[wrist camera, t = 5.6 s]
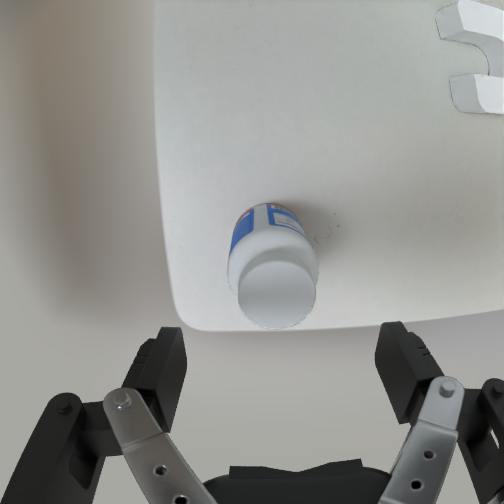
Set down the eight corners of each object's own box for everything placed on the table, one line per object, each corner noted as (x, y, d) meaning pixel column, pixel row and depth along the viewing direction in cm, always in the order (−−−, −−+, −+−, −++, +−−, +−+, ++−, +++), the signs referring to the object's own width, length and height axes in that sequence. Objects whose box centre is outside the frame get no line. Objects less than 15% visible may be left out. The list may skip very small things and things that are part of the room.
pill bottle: (244, 275, 26) (238, 350, 17) (224, 213, 24) (204, 264, 15) (310, 258, 26) (336, 326, 17) (294, 194, 24) (317, 234, 15)
